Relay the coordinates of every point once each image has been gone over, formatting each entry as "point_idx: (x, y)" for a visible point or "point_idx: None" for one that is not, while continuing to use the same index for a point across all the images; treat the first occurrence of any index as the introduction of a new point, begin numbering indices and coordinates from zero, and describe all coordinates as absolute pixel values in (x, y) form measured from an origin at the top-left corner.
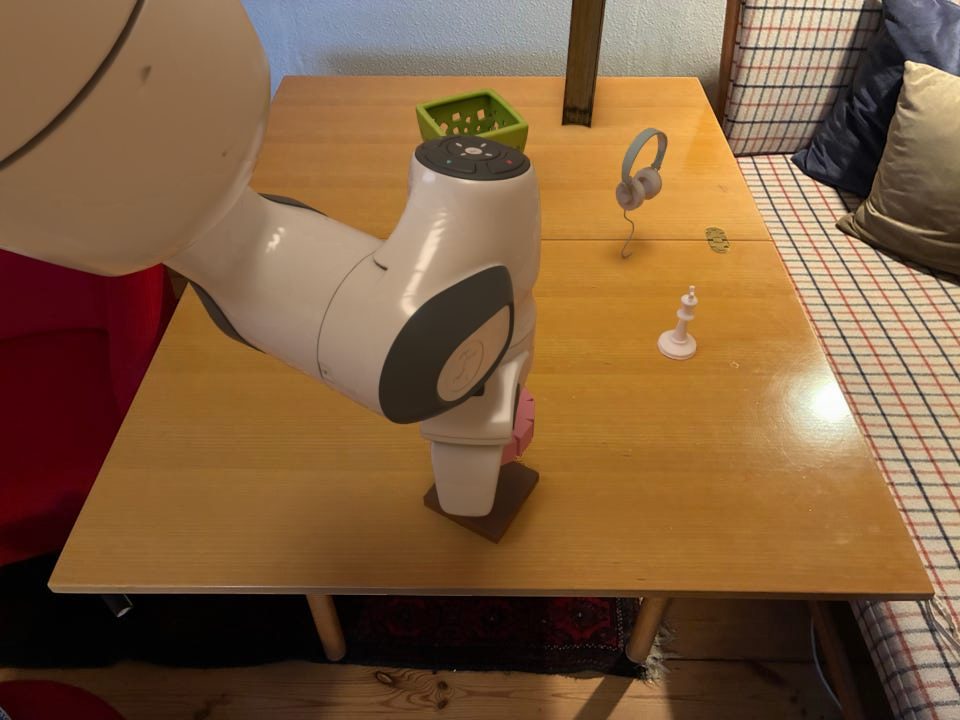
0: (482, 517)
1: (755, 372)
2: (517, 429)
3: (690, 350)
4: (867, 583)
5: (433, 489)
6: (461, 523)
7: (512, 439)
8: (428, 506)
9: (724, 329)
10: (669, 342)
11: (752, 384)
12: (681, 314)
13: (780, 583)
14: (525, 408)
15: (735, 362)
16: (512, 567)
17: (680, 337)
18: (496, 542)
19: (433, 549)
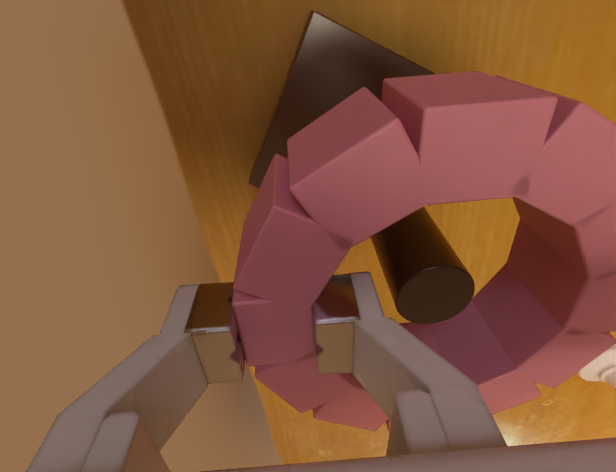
0: (282, 153)
1: (530, 415)
2: (345, 411)
3: (585, 378)
4: (284, 461)
5: (336, 34)
6: (275, 107)
7: (306, 404)
8: (306, 23)
9: (609, 396)
10: (609, 362)
11: (513, 413)
12: None
13: (270, 422)
14: None
15: (551, 403)
16: (217, 200)
17: (611, 381)
18: (250, 174)
19: (212, 55)
